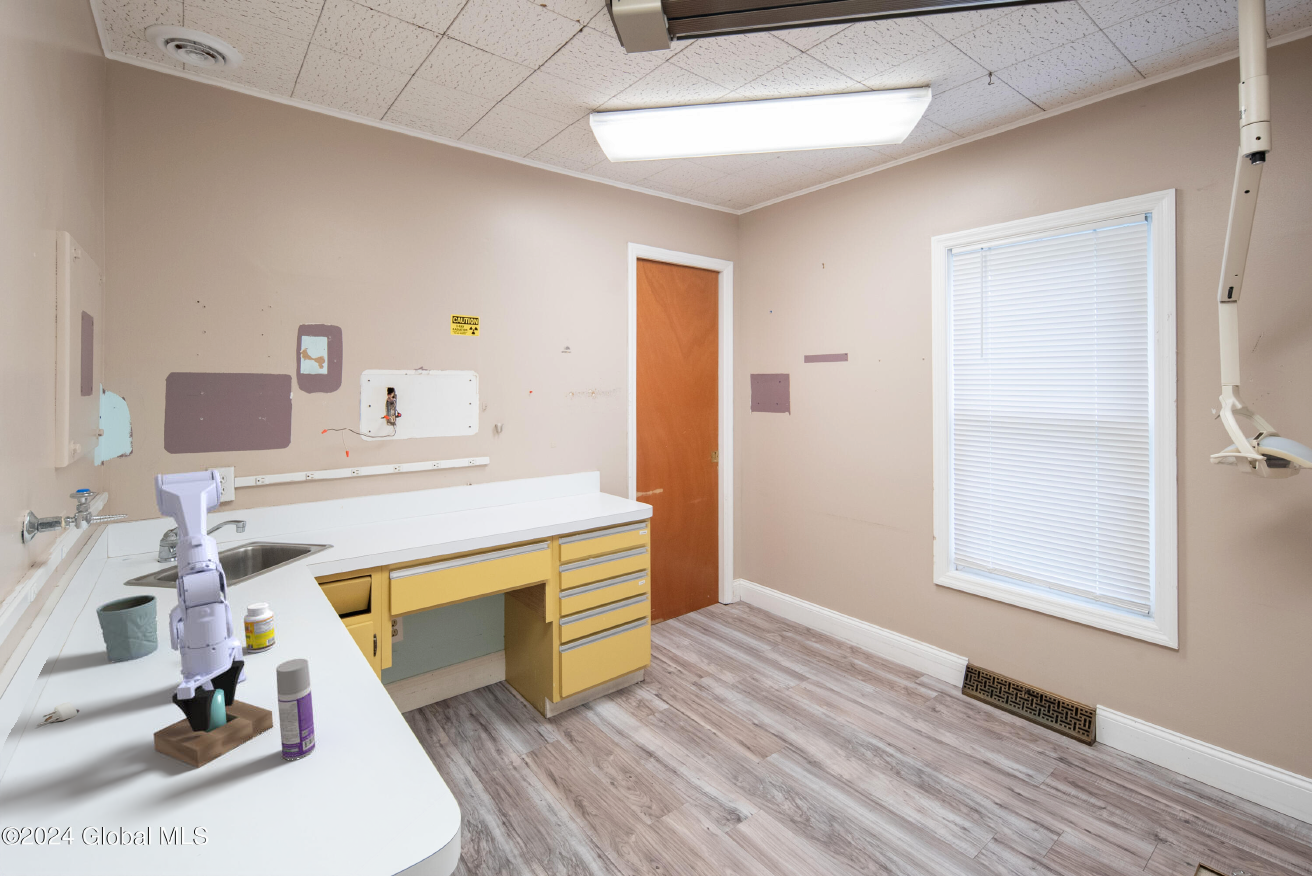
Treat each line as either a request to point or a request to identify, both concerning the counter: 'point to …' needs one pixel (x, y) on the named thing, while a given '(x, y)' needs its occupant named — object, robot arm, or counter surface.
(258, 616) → the supplement bottle
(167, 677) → the counter surface
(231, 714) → the socket block
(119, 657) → the green plant pot
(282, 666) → the container
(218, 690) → the peg
